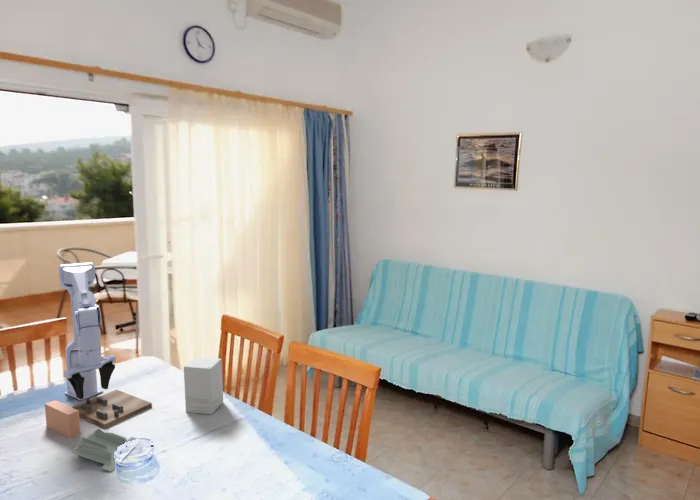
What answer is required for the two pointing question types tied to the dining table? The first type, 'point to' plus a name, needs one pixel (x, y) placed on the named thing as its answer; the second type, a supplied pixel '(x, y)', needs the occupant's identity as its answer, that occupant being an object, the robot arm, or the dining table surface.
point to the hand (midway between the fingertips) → (92, 393)
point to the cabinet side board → (111, 408)
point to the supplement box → (203, 385)
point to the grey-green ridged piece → (101, 448)
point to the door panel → (62, 418)
